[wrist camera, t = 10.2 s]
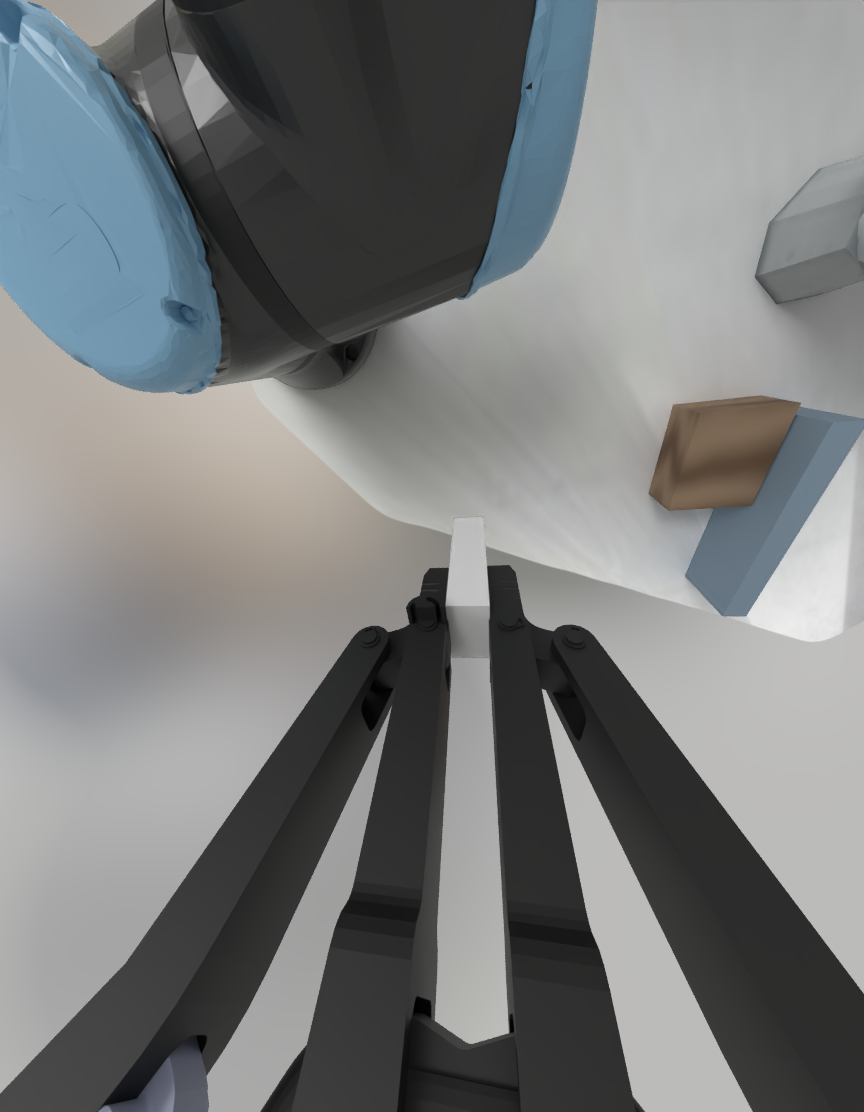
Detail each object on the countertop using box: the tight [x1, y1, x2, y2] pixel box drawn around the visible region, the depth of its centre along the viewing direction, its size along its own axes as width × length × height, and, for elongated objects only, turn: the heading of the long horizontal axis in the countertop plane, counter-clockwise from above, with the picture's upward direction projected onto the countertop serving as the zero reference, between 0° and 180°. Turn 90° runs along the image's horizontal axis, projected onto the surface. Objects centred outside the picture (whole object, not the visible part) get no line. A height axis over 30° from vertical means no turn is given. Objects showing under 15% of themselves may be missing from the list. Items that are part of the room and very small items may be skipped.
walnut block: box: [649, 396, 801, 510], centre depth 33 cm, size 10×8×5 cm
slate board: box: [685, 407, 864, 616], centre depth 35 cm, size 22×2×8 cm, turn 6°
